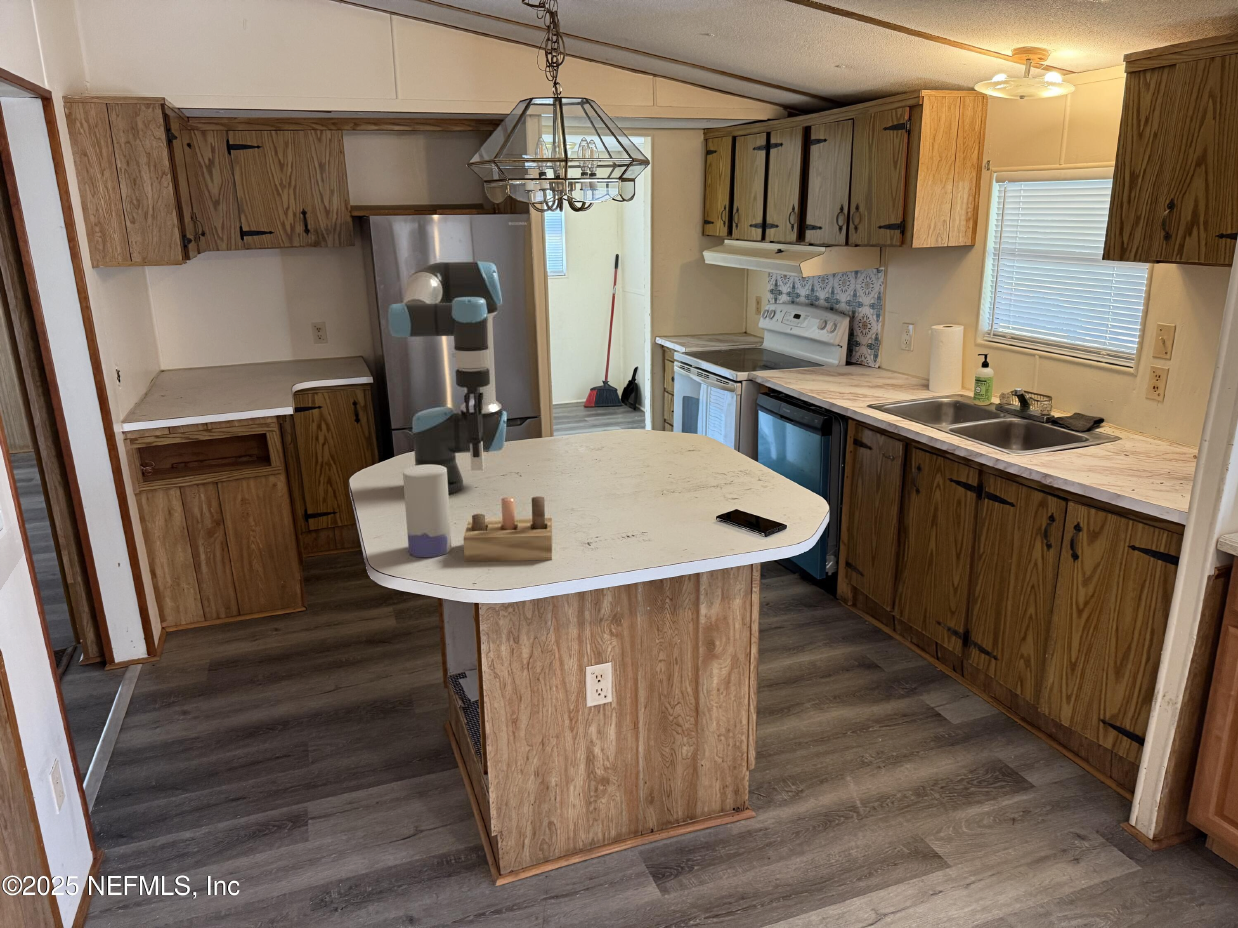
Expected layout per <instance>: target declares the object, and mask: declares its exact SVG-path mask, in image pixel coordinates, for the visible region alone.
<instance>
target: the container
mask: <svg viewBox="0 0 1238 928" xmlns="http://www.w3.org/2000/svg"><path fill="white" fill-rule="evenodd" d="M402 481H403V491H404V492H403V493H404V505H405V506H404V507H405V518H406V519H405V520H406V533H407V545H408V553H409V554H410V555H411V556H414V557H418V558H434V557H440V556H442V555H445V554H448V553H449V552H450V551H452V549H453V548H452V535H451V534H452V533H451V531H452V529H451V518H450V501H449V499H450V497H449V494H448V481H447V469H446V468H445V467H444V466H440V465H417V466H415V465H413V466H409V467H407V468H405V469H403V471H402Z"/></svg>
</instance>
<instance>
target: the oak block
mask: <svg viewBox="0 0 1238 928" xmlns="http://www.w3.org/2000/svg"><path fill="white" fill-rule="evenodd" d="M485 527H486V531H473V526H472V519H468V521H467V525H466V528H465V531H464V535H463V537H462V538H463V551H464V553H463V554H464V562H465V563H473V562H474V563H475V562H476V563H477V562H507V561H508V562H509V561H510V562H511V561H515V562H516V561H536V560H537V561H546V560H549V561H550V560H553V518H552V517H545V529H539V530H533V529H532V517H530V518H529V517H528V518H527V517H525V518H524V517H523V518H522V517H521V518H515V530H503V525H502V518H490V519H489V518H485Z"/></svg>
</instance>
